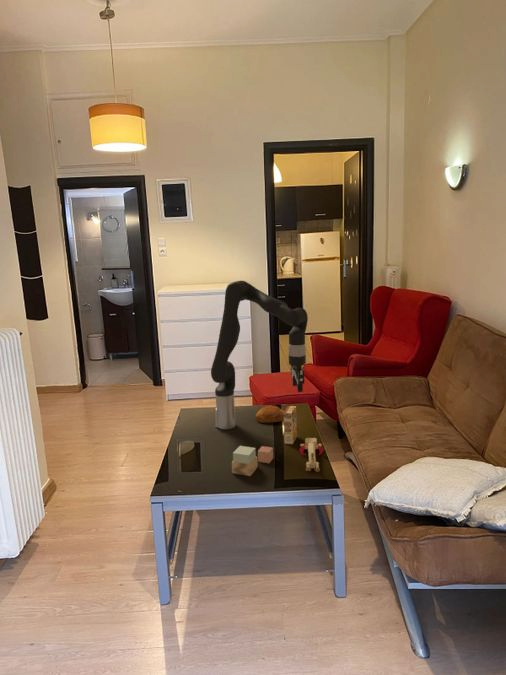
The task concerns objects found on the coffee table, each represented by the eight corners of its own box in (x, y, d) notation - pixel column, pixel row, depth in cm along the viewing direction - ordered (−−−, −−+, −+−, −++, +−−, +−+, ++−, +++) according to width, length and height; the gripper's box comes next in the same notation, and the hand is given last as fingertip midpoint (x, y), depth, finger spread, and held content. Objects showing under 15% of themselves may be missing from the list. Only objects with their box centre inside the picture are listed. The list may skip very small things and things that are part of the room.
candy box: (293, 444, 224) (292, 413, 221) (283, 443, 225) (283, 412, 222) (297, 436, 232) (296, 406, 229) (288, 435, 234) (287, 405, 230)
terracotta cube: (258, 461, 209) (257, 451, 208) (262, 456, 214) (262, 446, 213) (269, 463, 208) (268, 452, 206) (273, 458, 212) (272, 447, 211)
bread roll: (285, 427, 249) (287, 413, 247) (254, 424, 249) (256, 410, 247) (284, 416, 263) (285, 402, 261) (255, 413, 263) (256, 399, 261)
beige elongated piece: (325, 474, 199) (321, 443, 223) (325, 455, 196) (321, 426, 220) (300, 474, 200) (299, 443, 224) (300, 455, 197) (299, 426, 221)
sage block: (233, 462, 200) (232, 452, 199) (240, 454, 206) (239, 445, 205) (249, 464, 197) (248, 455, 196) (255, 456, 203) (255, 448, 202)
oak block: (232, 473, 201) (231, 462, 200) (240, 464, 208) (239, 453, 207) (250, 476, 198) (249, 465, 196) (257, 467, 205) (257, 456, 204)
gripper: (284, 350, 222) (285, 384, 225) (292, 358, 208) (293, 394, 212) (301, 349, 223) (301, 383, 227) (309, 357, 209) (310, 393, 213)
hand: (297, 388), depth 219 cm, fingers open, 8 cm apart
